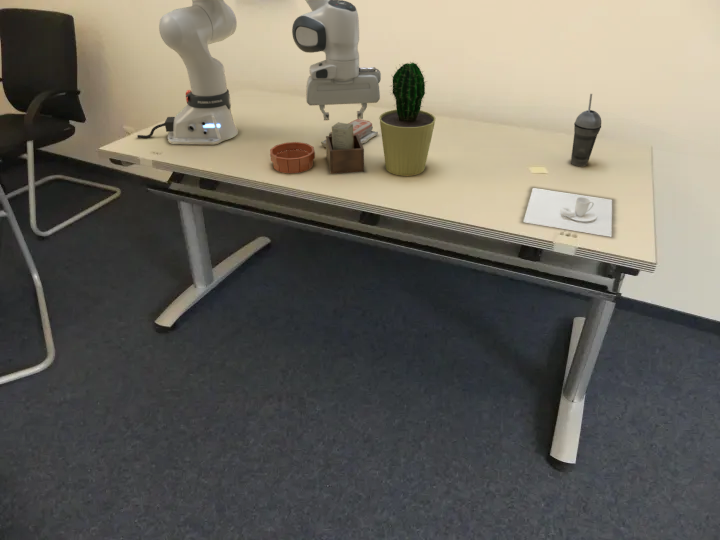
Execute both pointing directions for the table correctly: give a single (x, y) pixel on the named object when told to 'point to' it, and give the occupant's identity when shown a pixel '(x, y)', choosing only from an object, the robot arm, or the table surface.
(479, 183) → the table surface
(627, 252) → the table surface
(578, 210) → the teacup and saucer
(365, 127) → the packaged product
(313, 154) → the bowl
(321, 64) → the robot arm
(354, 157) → the holder
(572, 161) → the beverage cup
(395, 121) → the potted cactus
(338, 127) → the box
